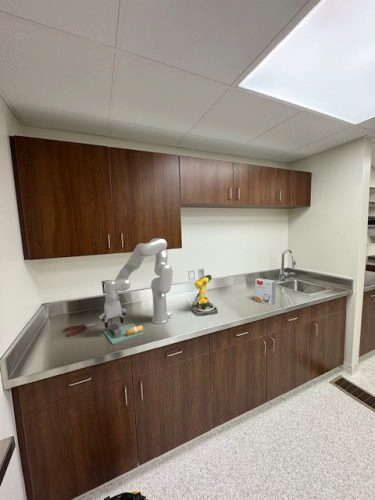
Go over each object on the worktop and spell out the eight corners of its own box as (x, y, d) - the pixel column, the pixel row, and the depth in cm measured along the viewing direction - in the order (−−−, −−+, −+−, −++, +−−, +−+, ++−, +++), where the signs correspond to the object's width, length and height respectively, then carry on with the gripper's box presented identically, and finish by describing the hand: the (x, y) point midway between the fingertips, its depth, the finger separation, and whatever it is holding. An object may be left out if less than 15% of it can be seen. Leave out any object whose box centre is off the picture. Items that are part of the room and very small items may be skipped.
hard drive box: (254, 301, 188) (254, 279, 186) (258, 299, 193) (258, 277, 191) (271, 305, 176) (271, 282, 175) (275, 303, 181) (275, 280, 180)
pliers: (99, 327, 148) (99, 323, 147) (67, 337, 134) (66, 333, 134) (93, 322, 156) (93, 319, 156) (62, 332, 142) (62, 328, 142)
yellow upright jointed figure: (220, 313, 163) (219, 278, 161) (196, 316, 159) (195, 280, 156) (211, 305, 181) (210, 273, 179) (190, 308, 177) (189, 275, 174)
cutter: (115, 328, 141) (115, 323, 141) (122, 336, 131) (121, 330, 131) (108, 330, 139) (108, 325, 138) (115, 338, 128) (114, 332, 128)
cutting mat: (133, 323, 150) (132, 317, 150) (144, 333, 135) (143, 326, 134) (103, 332, 138) (103, 325, 138) (112, 344, 123) (112, 337, 123)
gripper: (123, 295, 143) (125, 319, 145) (96, 301, 133) (98, 327, 135) (127, 297, 137) (129, 323, 139) (99, 304, 127) (102, 331, 129)
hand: (114, 325), depth 137 cm, fingers open, 9 cm apart
